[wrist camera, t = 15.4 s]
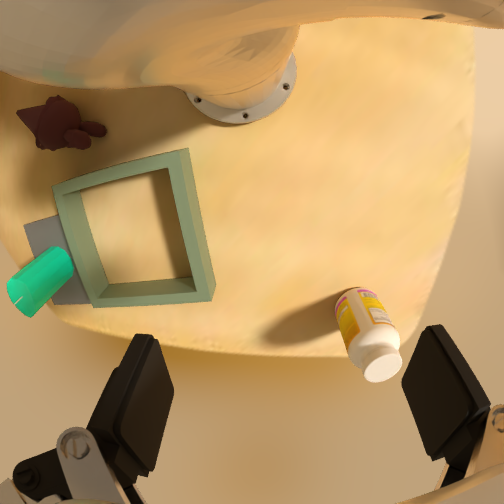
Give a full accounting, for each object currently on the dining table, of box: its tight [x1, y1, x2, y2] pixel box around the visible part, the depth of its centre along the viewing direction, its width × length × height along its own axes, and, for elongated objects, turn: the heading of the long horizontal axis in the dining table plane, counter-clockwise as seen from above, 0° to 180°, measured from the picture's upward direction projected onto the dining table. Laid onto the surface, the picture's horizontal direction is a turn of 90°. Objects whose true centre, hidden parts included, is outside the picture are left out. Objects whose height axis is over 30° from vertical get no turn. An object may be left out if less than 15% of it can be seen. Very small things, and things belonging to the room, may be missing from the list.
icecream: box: [16, 95, 107, 151], centre depth 27 cm, size 7×7×15 cm
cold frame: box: [52, 148, 216, 308], centre depth 34 cm, size 18×18×4 cm
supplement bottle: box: [335, 288, 402, 382], centre depth 34 cm, size 7×7×13 cm
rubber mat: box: [23, 215, 91, 305], centre depth 38 cm, size 15×11×1 cm
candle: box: [7, 246, 74, 317], centre depth 33 cm, size 6×6×12 cm
